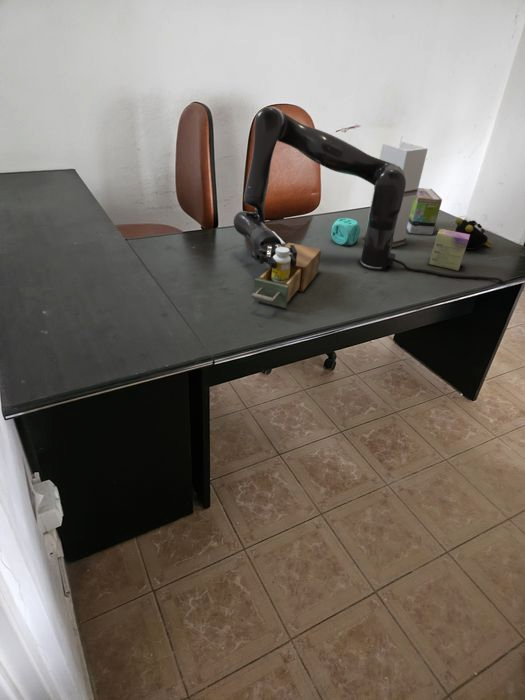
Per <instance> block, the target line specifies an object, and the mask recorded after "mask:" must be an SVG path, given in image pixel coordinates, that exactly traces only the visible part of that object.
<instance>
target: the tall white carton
mask: <svg viewBox="0 0 525 700" xmlns="http://www.w3.org/2000/svg"><path fill="white" fill-rule="evenodd" d="M427 154H428V148H427V147H423V146H419V145H417V144H413V143H409V142H405V141H400V145H399V147H397V146H393V145H390V144H387V143H382V144H381V149H380V154H379V159H380V160H383V161H386V162H389V163H392V164H395V165H397V166H399V167H400V168H401V169H402V170H403V172H404V175H405V179H406V187H405V192H404V196H403V200H402V204H401V209H400V212H399V214H398V218H397V222H396V227H395V231H394V236H393V239H394V240H393V244H392V248H394V247H395V248H396V247H398V246H402V245H406V241H407V238H406V233H407V225H408V221H409V216H410V212H411V208H412V204H413V199H415V198H416V195H417V191H418V188H420V187H419V186H420V182H421V178H422V173H423V170H424V165H425V161H426V157H427ZM374 190H375V186H374V185H373V191H372V197H371V201H370V207H369V209H370V208H371V205H372V201H373V196H374ZM369 214H370V211H369V212H368V215H369ZM368 219H369V217H368V218H367V220H368ZM367 225H368V222H367V223H366V226H367ZM366 230H367V227H366V229H365V231H366ZM365 235H366V233H365V234H364V236H365Z"/></svg>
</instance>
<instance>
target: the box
mask: <svg viewBox="0 0 525 700" xmlns="http://www.w3.org/2000/svg"><path fill="white" fill-rule="evenodd" d="M469 237H470V234H465V233H460V232H455V230H449V229H445V228H439V229H438V232H437V235H436V236H435V241H434V245H433V248H432V252H431V255H430V259H429V262H428V265H431V266H437V267H440V268H444V269H450V270H454V271H457V272H459V271H460V268H461V265H462V262H463V258H464V256H465V252H466V250H467V249H466V246H467V243H468V240H469Z"/></svg>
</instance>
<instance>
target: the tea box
mask: <svg viewBox="0 0 525 700" xmlns="http://www.w3.org/2000/svg"><path fill="white" fill-rule="evenodd" d="M442 202H443V199H442V198H441V196H440V195H438V194H437V193H436V192H435V190H433V189H432V188H425V187H418V191H417V195H416V198H415V199H413V204H412V208H411V212H410V216H409V221H408V225H407V229H406V231H407V232H408V233H409V234H415V235H433V234H434V230H435V226H436V224H437V223H436V222H437V219H438V217H439V212H440V209H441V205H442Z"/></svg>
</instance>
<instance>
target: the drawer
mask: <svg viewBox="0 0 525 700" xmlns="http://www.w3.org/2000/svg"><path fill="white" fill-rule="evenodd" d="M271 275H272V267H270V266H269V267H268V268H267V270H266V271H264V272H263V273H262V274H261V275H260V276H259V277H255V278H254V286H253V292H252V294H251V298H252V299H253V300H254V301H257V302H261V303H265V304H269V305H273V306H277V307H281V308H283V309H284V308H285V309H286V308H287V307H288V303H289V301H290V300H291V298H293V296H294V295H295V294H296V292H298V291H297V290H298V289H299V288H300V286H301V277H302V269H301V268H297V267H292V266H290V275H289V280H288V281H287V282H285V283H277V282H274V281H273V280H272V279H271Z"/></svg>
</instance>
